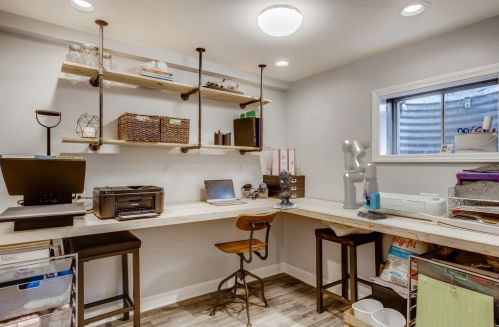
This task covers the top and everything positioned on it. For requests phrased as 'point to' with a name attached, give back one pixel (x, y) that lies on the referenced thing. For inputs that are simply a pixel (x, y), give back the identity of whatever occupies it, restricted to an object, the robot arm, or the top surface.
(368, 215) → the display riser
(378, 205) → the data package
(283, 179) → the dark grey statue
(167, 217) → the top surface
